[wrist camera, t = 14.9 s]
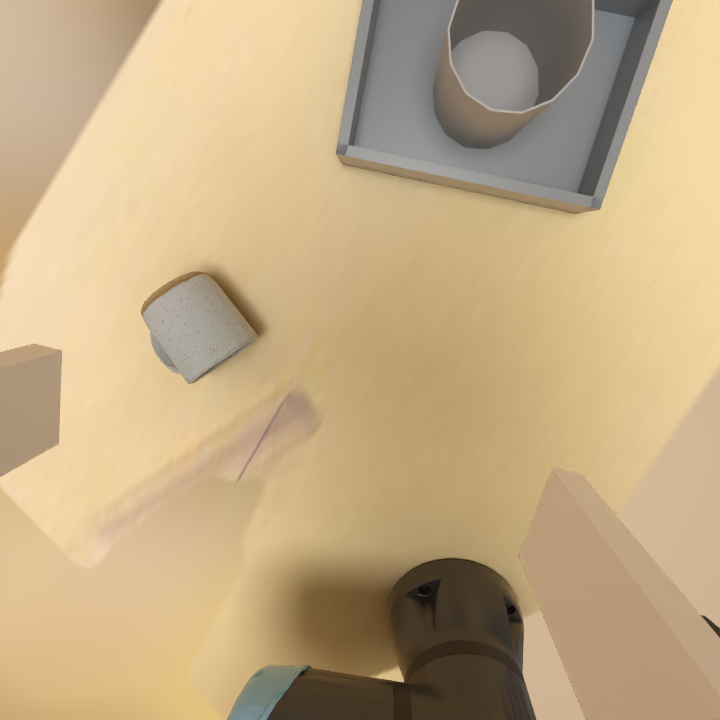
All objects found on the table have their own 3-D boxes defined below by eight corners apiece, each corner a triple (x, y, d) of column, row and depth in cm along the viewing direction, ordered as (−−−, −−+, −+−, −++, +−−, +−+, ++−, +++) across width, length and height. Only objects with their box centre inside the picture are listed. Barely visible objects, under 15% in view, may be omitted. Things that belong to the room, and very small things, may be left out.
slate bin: (575, 213, 37) (599, 209, 32) (342, 164, 37) (335, 153, 33) (642, 14, 33) (680, -21, 28) (379, -39, 33) (376, -81, 29)
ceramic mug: (216, 263, 41) (175, 268, 33) (269, 330, 42) (241, 350, 35) (142, 325, 43) (88, 342, 36) (194, 387, 44) (153, 416, 37)
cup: (560, 72, 33) (626, 2, 24) (496, 169, 35) (534, 141, 26) (471, 10, 33) (503, -88, 23) (413, 112, 35) (419, 62, 25)
